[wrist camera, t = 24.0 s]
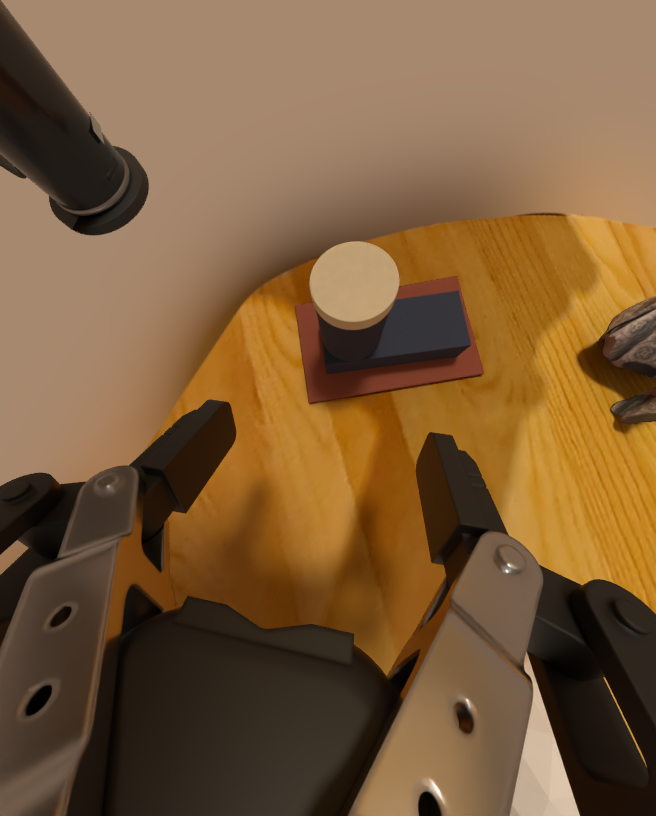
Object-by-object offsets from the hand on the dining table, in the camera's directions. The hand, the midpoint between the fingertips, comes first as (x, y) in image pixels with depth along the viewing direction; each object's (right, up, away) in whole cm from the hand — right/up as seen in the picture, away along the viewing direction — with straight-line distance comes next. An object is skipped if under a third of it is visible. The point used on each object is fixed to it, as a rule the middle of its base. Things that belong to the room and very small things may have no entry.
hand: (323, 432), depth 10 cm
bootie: (+6, +7, +13) cm, 16 cm away
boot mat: (+6, +8, +13) cm, 16 cm away
